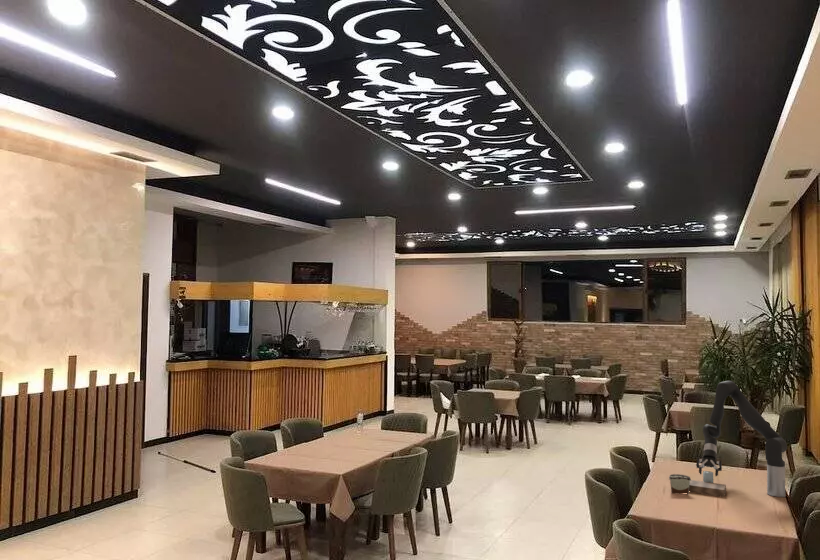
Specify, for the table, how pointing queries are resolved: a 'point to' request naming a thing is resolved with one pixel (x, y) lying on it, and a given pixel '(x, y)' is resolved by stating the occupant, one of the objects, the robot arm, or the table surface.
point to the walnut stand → (707, 488)
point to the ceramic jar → (707, 476)
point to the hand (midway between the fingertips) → (708, 474)
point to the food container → (679, 483)
